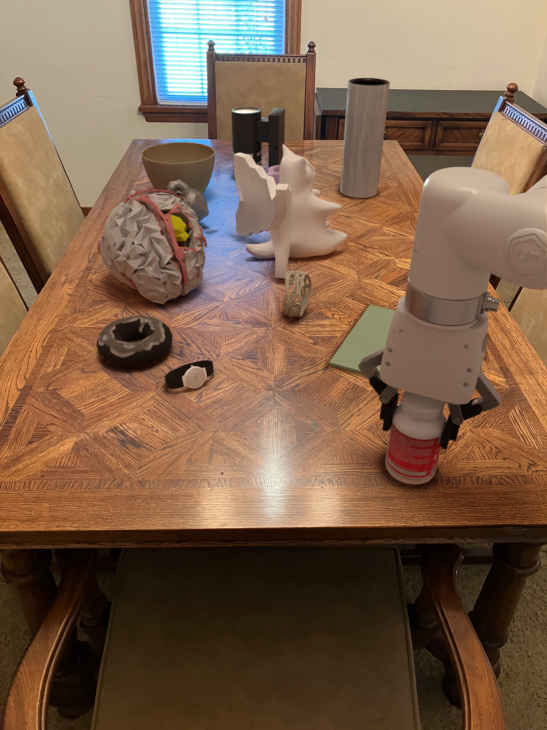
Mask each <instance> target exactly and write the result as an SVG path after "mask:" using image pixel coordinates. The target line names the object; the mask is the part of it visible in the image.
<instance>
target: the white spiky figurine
mask: <svg viewBox="0 0 547 730" xmlns="http://www.w3.org/2000/svg"><path fill="white" fill-rule="evenodd" d="M282 148H283V158H282V161H281V164H280V170H279V184H277V186H276V183H275V181H274V178H273V177H272V176H268V175H267V174H266V173H267V172H266V171H265V169H264V167H263V165H262V166H259V165H256V163H255V161H254V160H253V158H252V156H251V155H247V154H244V153H237V154H233V153H232V160H233V159H234V173H233V178H234V177H235V178H234V181H235V185H236V189H237V193H238V198H239V201H238V202H239V203H238V206H237V208H236V212H235V233H236V234H237V235H239V236H242V237H245V238H248V237H250V236H253V235H258V234H260V233H263V232H267V233H268V232H269V237H270V239H269V240H268V241H266V242H262V243H256V244H254V243H247V244H245V251H246V253H248V254H250V255H251V256H253V257H255V258H256V259H261V260H264V259H275V261H274V263H275V267H274V268H275V271H274V272H275V274H274V276H275V278H277V279H285V273H286V272H287V271H288V264H289V258H293V259H304V258H308V257H316V256H325V255H329V254H330V253H333V252H334V251H335V250H336V249H338V248H339V247H340V246H341V245H343V244H344V242H346V241H347V239H348V234H347V233H344V232H343V231H341V230H337V229H332V228H329V227H330V225H331V221H329V220H328V218H329V217H330V216H331V215H333V214H334V213H337V212H338V211H339V210H341V209H342V208H343V206H342V205H341V204H339V203H337V202H332V201H329V200H326V199H322V198H319V196H320V195H321V190H320V189H318V188H313V187H314V184H315V179H316V168H315V167H314V166H313V165H312V164H311V162H310V161H309V160H308V158H306V157H305V156H301V155H298V154H296V153H294V152H293V151H292V150H290V149H289V148H288V147H287V145H285V143H284V144H283V145H282Z"/></svg>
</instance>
